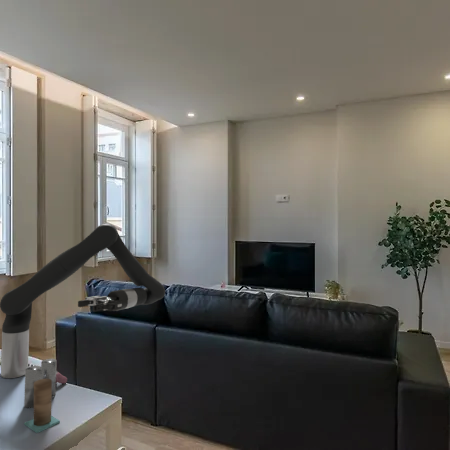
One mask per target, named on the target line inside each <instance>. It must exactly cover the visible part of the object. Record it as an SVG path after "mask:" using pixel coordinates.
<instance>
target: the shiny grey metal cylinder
mask: <svg viewBox="0 0 450 450" xmlns="http://www.w3.org/2000/svg"><path fill="white" fill-rule="evenodd" d="M40 363H41V367H42V377H41V379H51V380H52V398H54V397H55V396H56V393H57V392H56V389H57V388H56V385H57V383H56V371H57V363H58V362H57V359H56V358H47V359H44V360H42V361H41V362H40Z"/></svg>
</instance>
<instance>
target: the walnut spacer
mask: <svg viewBox="0 0 450 450" xmlns="http://www.w3.org/2000/svg"><path fill="white" fill-rule="evenodd" d="M52 398H53V397H52V380H51V379H40V380H37V381H36V382H34V408H33V419H34V425H36V426H42V425H46V424H48V423H49V422H50V421H51V416H52Z"/></svg>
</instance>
